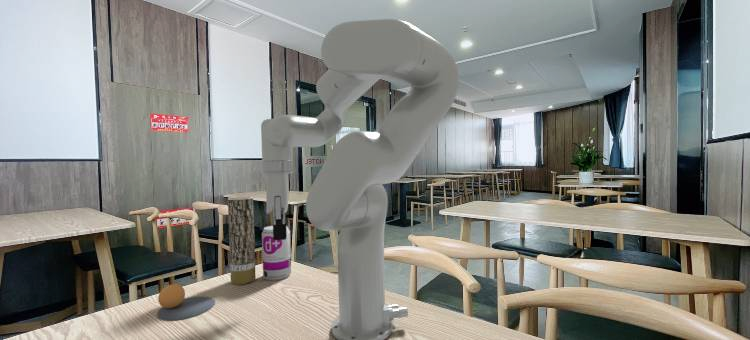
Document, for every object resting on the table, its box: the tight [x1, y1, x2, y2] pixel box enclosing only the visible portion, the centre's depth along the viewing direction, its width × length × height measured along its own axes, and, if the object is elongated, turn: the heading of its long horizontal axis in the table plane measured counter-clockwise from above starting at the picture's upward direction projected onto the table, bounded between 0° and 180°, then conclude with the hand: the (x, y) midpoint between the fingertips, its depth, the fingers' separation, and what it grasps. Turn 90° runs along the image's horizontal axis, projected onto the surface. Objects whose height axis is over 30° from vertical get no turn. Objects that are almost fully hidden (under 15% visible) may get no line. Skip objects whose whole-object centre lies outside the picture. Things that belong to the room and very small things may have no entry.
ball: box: [157, 283, 186, 308], centre depth 77 cm, size 6×6×6 cm
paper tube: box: [227, 194, 257, 286], centre depth 93 cm, size 7×7×25 cm
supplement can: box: [261, 225, 292, 281], centre depth 97 cm, size 8×8×15 cm
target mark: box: [157, 296, 216, 322], centre depth 77 cm, size 12×12×1 cm
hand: (280, 239), depth 81 cm, fingers closed
